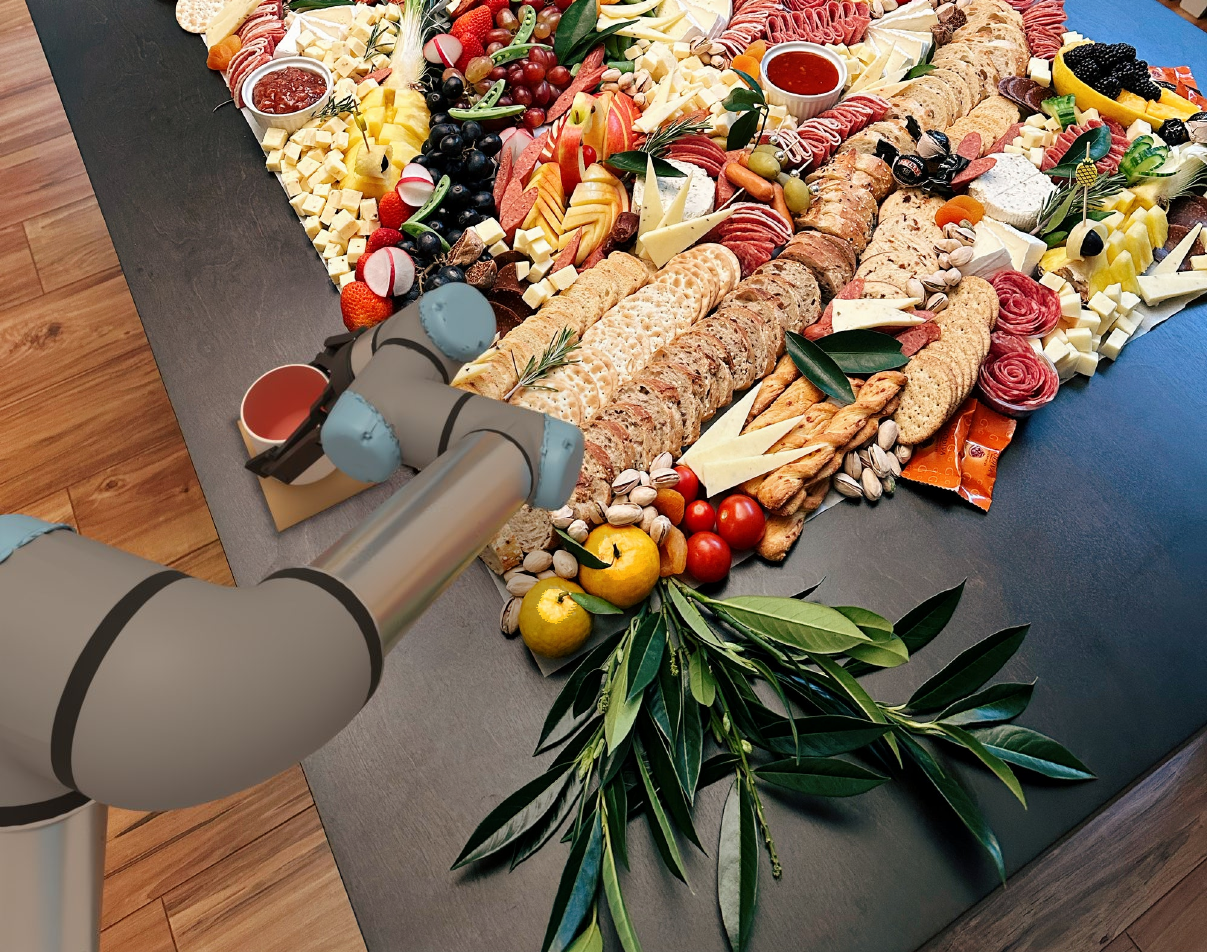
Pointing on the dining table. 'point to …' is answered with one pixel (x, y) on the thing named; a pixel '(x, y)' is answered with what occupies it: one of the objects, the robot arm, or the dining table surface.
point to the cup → (284, 411)
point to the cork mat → (304, 493)
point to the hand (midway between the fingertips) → (274, 427)
